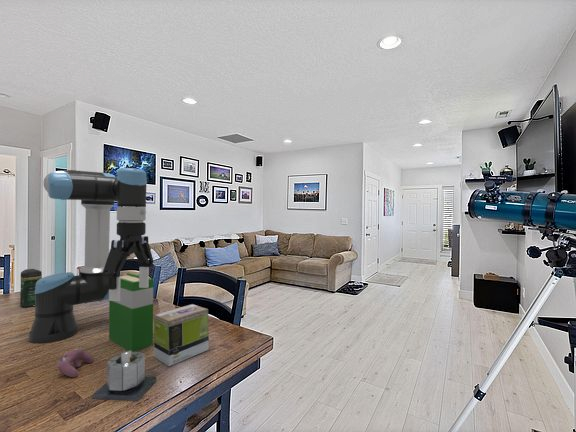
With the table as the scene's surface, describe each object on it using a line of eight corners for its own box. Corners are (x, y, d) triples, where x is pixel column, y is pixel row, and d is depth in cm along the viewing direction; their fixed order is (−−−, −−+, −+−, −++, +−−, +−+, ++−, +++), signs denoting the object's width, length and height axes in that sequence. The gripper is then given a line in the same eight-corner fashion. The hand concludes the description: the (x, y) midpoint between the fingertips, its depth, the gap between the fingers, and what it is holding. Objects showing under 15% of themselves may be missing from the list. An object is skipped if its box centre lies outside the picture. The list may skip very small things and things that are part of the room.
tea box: (193, 342, 109) (193, 302, 109) (209, 350, 102) (209, 308, 102) (152, 357, 97) (153, 313, 97) (168, 367, 91) (168, 320, 91)
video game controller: (82, 366, 94) (72, 347, 93) (96, 359, 94) (85, 340, 94) (62, 384, 84) (50, 363, 83) (77, 376, 84) (66, 355, 84)
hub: (100, 389, 75) (100, 366, 75) (121, 372, 84) (121, 351, 84) (131, 391, 75) (131, 368, 75) (149, 373, 83) (149, 352, 83)
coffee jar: (43, 305, 151) (43, 269, 151) (22, 309, 144) (23, 271, 144) (38, 301, 157) (38, 267, 156) (18, 305, 150) (18, 269, 150)
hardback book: (109, 339, 111) (109, 276, 111) (129, 333, 117) (129, 273, 117) (132, 352, 100) (132, 282, 100) (152, 345, 106) (153, 279, 106)
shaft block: (93, 398, 75) (93, 358, 75) (116, 378, 84) (116, 343, 84) (137, 401, 74) (137, 361, 74) (156, 381, 83) (156, 345, 83)
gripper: (114, 224, 73) (113, 308, 73) (165, 220, 98) (164, 283, 98) (86, 223, 74) (85, 306, 74) (144, 219, 98) (143, 282, 99)
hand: (130, 293), depth 86 cm, fingers open, 13 cm apart
